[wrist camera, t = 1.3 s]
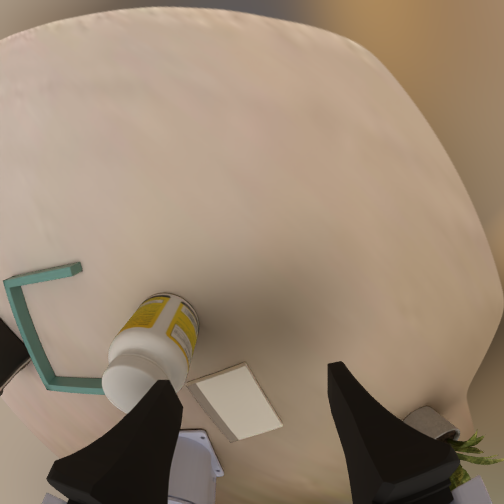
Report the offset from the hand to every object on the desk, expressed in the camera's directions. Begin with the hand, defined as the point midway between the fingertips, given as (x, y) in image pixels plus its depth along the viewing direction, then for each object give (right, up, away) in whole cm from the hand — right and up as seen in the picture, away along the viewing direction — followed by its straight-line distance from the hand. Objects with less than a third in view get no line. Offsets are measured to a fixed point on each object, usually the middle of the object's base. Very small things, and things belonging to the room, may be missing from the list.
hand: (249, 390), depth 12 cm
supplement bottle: (-7, 0, +11) cm, 13 cm away
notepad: (-1, -9, +13) cm, 16 cm away
